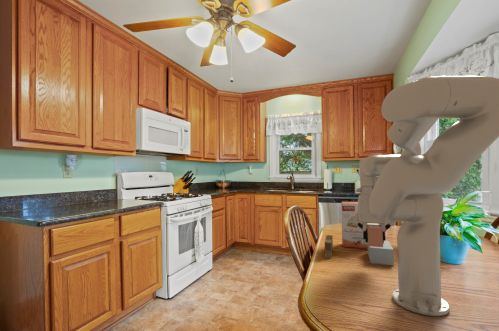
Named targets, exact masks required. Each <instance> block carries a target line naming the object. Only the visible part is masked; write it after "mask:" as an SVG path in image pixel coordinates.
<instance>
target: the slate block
mask: <svg viewBox="0 0 499 331" xmlns="http://www.w3.org/2000/svg"><path fill="white" fill-rule="evenodd" d="M394 250H395V249H394V248H393V247H392V245H391V243H390V241H389V240H386V241H384V243H383V247H372V246H369V245H368V249H367V255H368V258H369V262H370V264H375V265H377V264H378V265H385V266H395V258H394V257H395V254H394V252H395V251H394Z"/></svg>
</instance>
